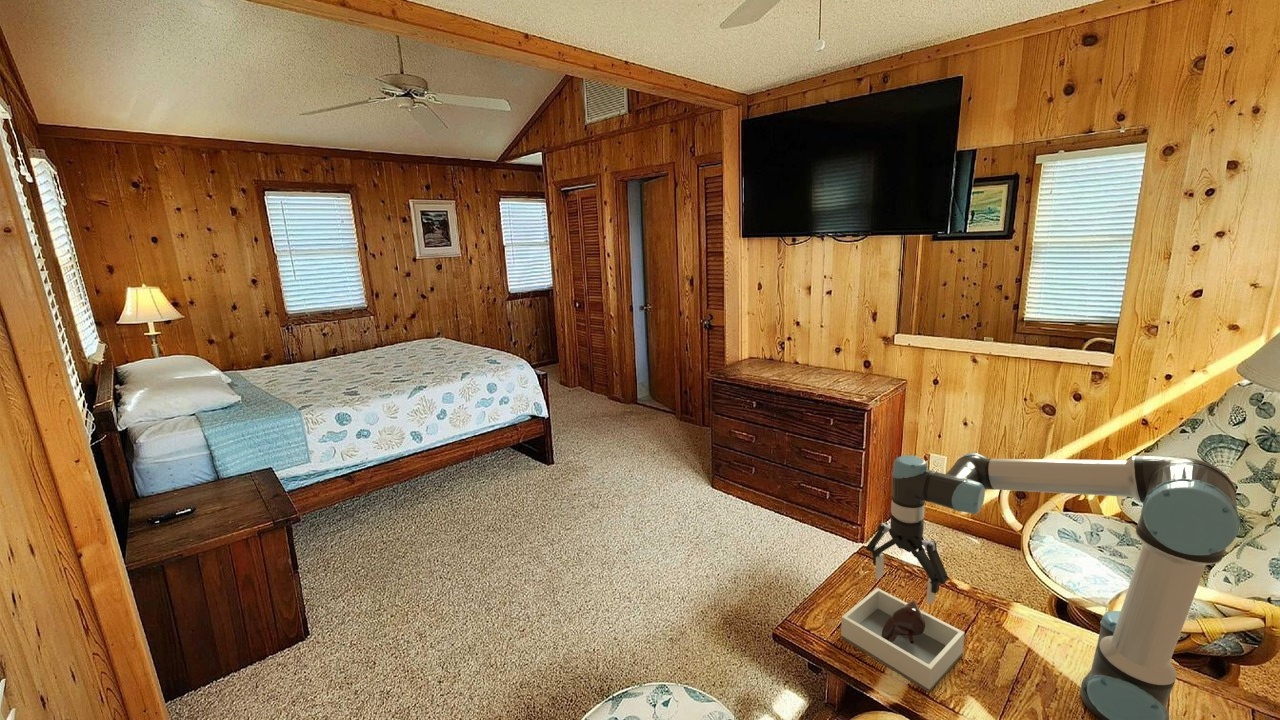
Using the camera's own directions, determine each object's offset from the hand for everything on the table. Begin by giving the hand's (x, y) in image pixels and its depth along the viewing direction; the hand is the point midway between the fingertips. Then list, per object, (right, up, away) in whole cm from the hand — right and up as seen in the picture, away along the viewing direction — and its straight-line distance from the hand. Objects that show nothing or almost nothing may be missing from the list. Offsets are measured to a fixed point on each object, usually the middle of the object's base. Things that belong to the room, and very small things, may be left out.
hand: (903, 588), depth 141 cm
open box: (+1, -18, +5) cm, 18 cm away
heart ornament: (+2, -13, +6) cm, 14 cm away
